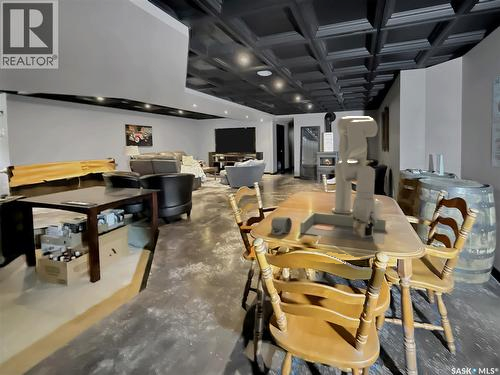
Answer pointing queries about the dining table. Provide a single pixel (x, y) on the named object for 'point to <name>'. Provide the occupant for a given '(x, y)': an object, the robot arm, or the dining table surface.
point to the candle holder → (378, 208)
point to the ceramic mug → (281, 225)
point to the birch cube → (360, 228)
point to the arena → (339, 227)
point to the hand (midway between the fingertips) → (362, 232)
